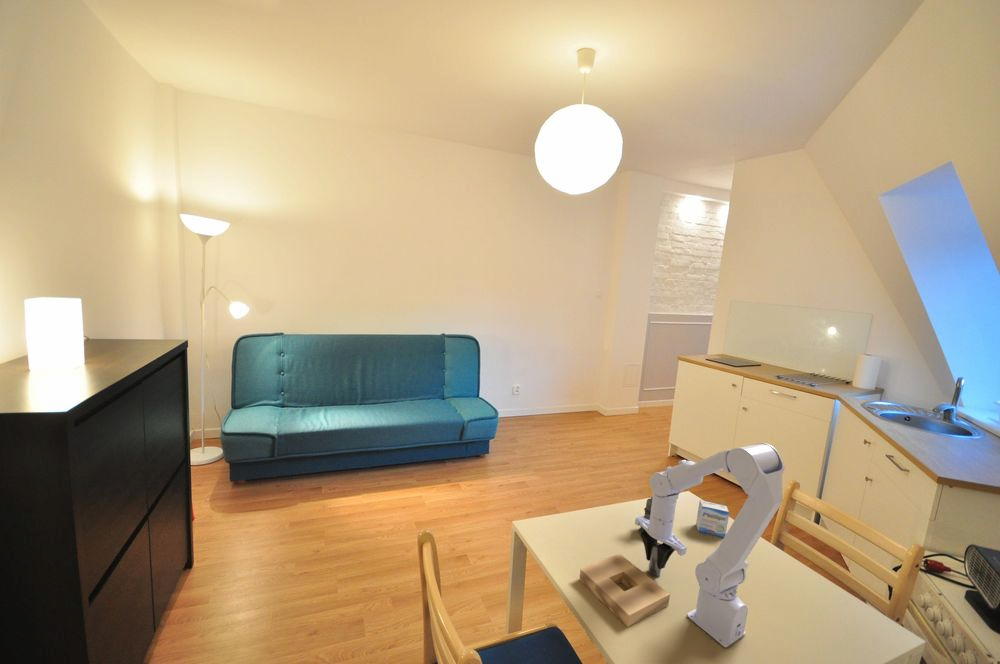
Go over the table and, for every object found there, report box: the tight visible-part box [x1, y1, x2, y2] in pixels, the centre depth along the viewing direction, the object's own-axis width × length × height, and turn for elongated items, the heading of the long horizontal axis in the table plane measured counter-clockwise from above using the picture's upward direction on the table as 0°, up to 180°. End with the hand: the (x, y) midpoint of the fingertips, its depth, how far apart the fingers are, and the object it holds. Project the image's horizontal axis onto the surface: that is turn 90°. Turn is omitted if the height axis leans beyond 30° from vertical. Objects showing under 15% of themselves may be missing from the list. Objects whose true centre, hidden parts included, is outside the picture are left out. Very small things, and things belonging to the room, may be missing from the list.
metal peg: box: [647, 541, 662, 578], centre depth 109 cm, size 3×3×8 cm
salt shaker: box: [637, 496, 653, 535], centre depth 127 cm, size 6×6×12 cm
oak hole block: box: [578, 553, 671, 628], centre depth 102 cm, size 16×14×3 cm
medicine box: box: [695, 500, 730, 538], centre depth 131 cm, size 8×4×9 cm, turn 73°
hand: (655, 563), depth 110 cm, fingers closed on metal peg, 3 cm apart
